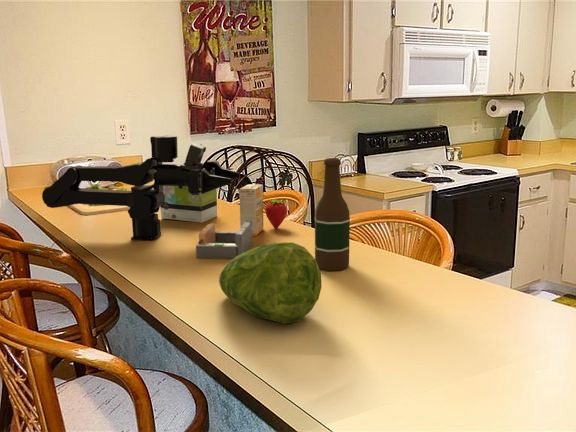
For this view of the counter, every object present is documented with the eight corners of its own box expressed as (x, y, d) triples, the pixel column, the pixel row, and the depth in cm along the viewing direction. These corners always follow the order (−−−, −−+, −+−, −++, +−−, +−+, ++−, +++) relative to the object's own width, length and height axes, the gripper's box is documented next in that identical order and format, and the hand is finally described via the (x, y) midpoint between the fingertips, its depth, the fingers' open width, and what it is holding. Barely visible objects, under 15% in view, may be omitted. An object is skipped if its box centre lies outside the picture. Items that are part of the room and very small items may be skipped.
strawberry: (279, 224, 161) (278, 191, 159) (291, 229, 155) (291, 195, 153) (261, 227, 159) (260, 193, 156) (272, 232, 152) (272, 197, 150)
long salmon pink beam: (196, 256, 129) (195, 236, 127) (210, 242, 141) (209, 223, 140) (203, 256, 128) (202, 236, 127) (215, 242, 141) (215, 223, 139)
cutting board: (153, 208, 190) (152, 187, 188) (84, 217, 177) (81, 194, 175) (120, 194, 218) (119, 175, 216) (58, 201, 205) (56, 181, 203)
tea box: (160, 219, 170) (156, 172, 167) (178, 213, 179) (175, 168, 176) (202, 223, 164) (199, 174, 161) (218, 216, 173) (216, 170, 170)
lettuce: (255, 307, 110) (253, 242, 111) (336, 319, 92) (333, 240, 92) (193, 316, 101) (191, 244, 102) (268, 331, 83) (265, 244, 84)
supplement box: (257, 236, 148) (255, 188, 145) (240, 236, 149) (238, 188, 146) (264, 229, 156) (263, 183, 153) (248, 228, 157) (246, 183, 154)
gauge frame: (196, 258, 129) (195, 233, 128) (211, 242, 143) (210, 220, 141) (242, 259, 128) (241, 234, 127) (252, 243, 142) (252, 220, 140)
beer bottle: (326, 274, 117) (326, 161, 111) (308, 264, 123) (307, 158, 118) (356, 268, 120) (358, 159, 115) (337, 259, 127) (337, 155, 122)
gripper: (164, 149, 133) (227, 151, 131) (187, 140, 151) (243, 142, 149) (165, 194, 136) (227, 197, 134) (188, 180, 154) (243, 182, 152)
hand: (235, 177), depth 142 cm, fingers open, 9 cm apart
